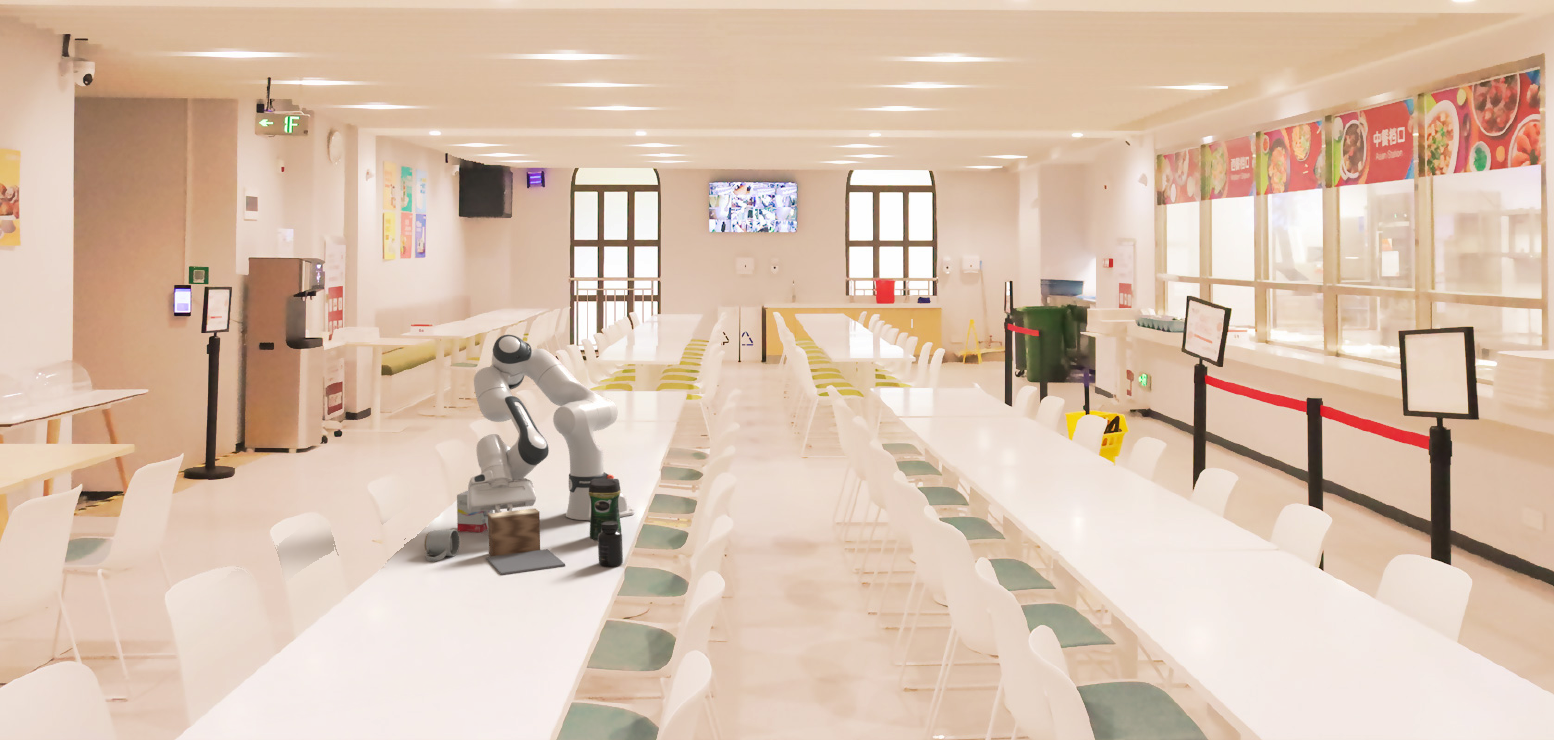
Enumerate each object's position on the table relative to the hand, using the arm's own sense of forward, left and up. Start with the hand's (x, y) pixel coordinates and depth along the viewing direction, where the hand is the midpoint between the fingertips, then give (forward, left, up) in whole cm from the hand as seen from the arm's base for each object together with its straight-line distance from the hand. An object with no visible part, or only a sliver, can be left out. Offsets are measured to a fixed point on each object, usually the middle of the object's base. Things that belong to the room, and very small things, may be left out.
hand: (506, 519), depth 324 cm
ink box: (+4, -24, -8) cm, 26 cm away
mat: (0, +19, -8) cm, 21 cm away
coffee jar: (-29, +5, -8) cm, 31 cm away
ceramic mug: (+20, +2, -8) cm, 21 cm away
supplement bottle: (-21, +32, -8) cm, 39 cm away
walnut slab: (0, +8, -8) cm, 11 cm away
